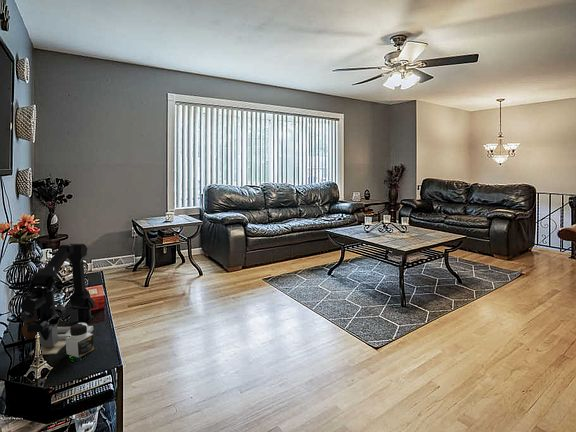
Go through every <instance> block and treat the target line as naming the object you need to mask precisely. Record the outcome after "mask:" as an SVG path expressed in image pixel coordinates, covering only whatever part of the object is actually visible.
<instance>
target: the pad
mask: <svg viewBox="0 0 576 432" xmlns="http://www.w3.org/2000/svg"><path fill="white" fill-rule="evenodd" d="M65 346H66V340H58V342H57V343H56V344H55V345H54V346H50V347H41V351H42V355H57V354H58V353H59V352H60V351H61V350H62V348H63V347H65ZM33 353H34V349H33V350H32V351H30V352H29V356H34V355H33Z"/></svg>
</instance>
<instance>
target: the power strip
mask: <svg viewBox="0 0 576 432" xmlns="http://www.w3.org/2000/svg"><path fill="white" fill-rule="evenodd" d="M70 327H71V326H57V331H58V341H64V340H66V338H67V337H69V336H70V335H71V333H70ZM87 329H88V333H91V334H92V332H93V331H94V326H93V325H87Z"/></svg>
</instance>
